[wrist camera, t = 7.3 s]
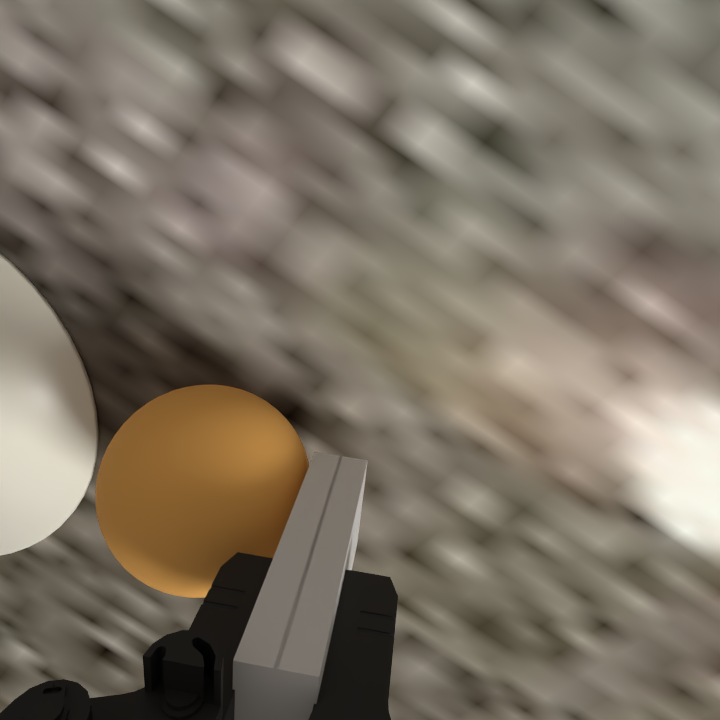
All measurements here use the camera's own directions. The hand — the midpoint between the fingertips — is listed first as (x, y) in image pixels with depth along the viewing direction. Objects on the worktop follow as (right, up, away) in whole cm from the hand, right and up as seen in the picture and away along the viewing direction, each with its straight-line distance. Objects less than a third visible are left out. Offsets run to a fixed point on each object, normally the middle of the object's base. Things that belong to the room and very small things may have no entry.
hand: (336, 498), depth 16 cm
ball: (-3, 0, 0) cm, 3 cm away
